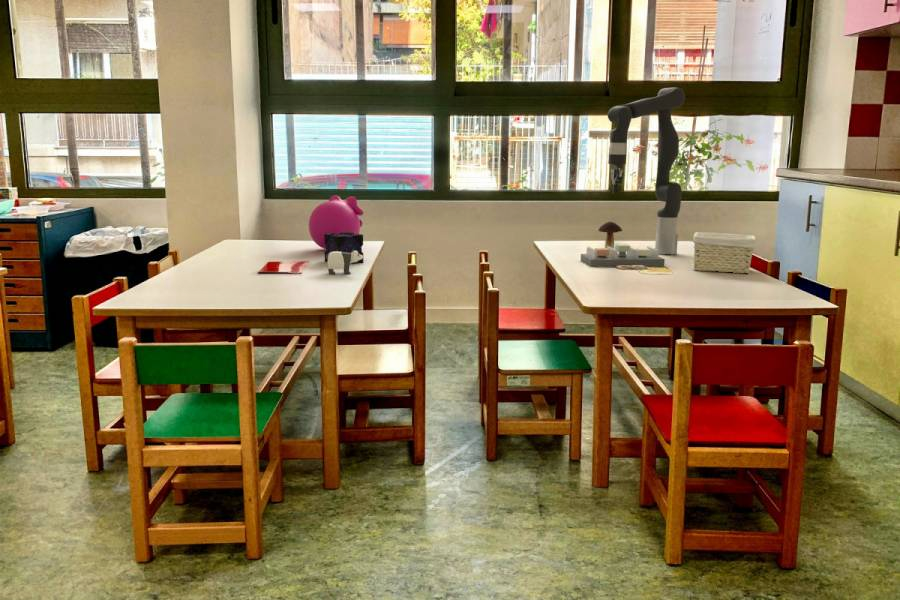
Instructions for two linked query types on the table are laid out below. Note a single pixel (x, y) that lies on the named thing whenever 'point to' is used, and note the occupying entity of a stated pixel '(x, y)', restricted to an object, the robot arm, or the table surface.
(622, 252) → the key sage
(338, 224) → the figurine
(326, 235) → the energy cube
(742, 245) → the storage basket
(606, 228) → the decorative mushroom
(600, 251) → the orange cube
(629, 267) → the strip
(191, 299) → the table surface
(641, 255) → the key ivory
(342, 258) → the giant panda
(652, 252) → the grey shelf board
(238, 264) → the table surface
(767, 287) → the table surface
